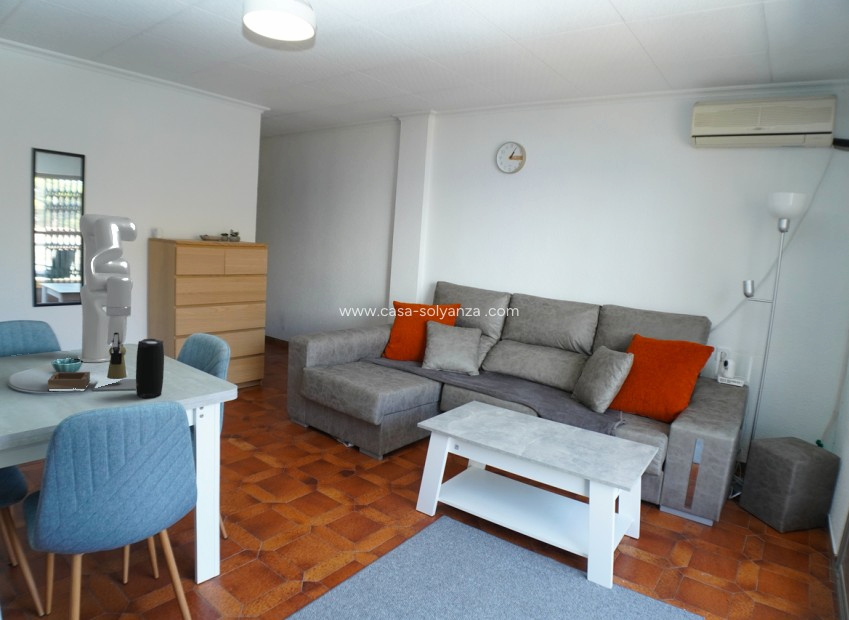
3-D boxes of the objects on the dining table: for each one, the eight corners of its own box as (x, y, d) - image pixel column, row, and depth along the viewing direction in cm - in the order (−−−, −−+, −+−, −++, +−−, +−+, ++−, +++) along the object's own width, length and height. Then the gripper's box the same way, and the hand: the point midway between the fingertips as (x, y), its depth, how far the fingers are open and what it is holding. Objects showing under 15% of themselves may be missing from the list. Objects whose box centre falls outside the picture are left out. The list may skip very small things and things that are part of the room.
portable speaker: (136, 400, 178) (138, 343, 176) (134, 392, 186) (135, 338, 184) (164, 398, 183) (166, 342, 180) (161, 390, 190) (162, 337, 188)
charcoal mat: (98, 381, 195) (98, 379, 195) (138, 380, 200) (138, 379, 200) (92, 391, 183) (92, 389, 183) (135, 390, 188) (135, 388, 188)
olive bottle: (103, 376, 190) (103, 346, 189) (119, 373, 195) (120, 344, 194) (113, 380, 187) (114, 348, 186) (130, 377, 193) (131, 346, 191)
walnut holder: (54, 383, 188) (55, 372, 187) (89, 383, 192) (90, 372, 191) (47, 392, 178) (48, 380, 178) (84, 391, 182) (84, 379, 182)
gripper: (109, 307, 195) (108, 356, 197) (102, 314, 179) (101, 368, 181) (133, 308, 198) (131, 357, 200) (128, 315, 182) (126, 368, 184)
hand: (117, 361), depth 191 cm, fingers closed on olive bottle, 5 cm apart
